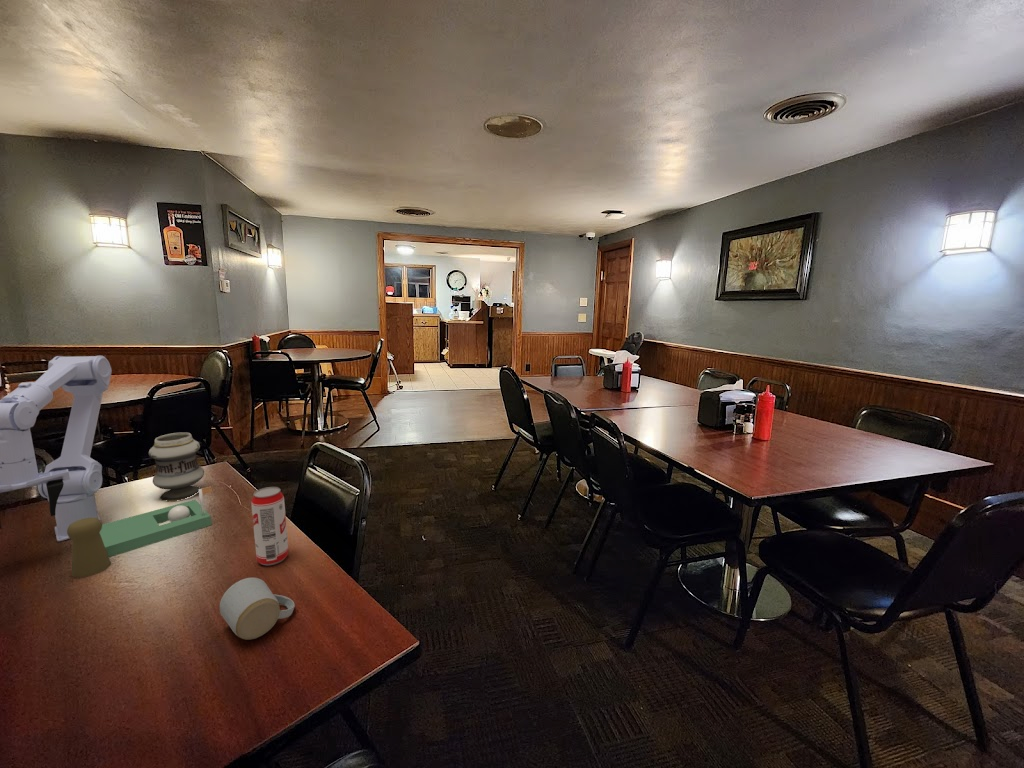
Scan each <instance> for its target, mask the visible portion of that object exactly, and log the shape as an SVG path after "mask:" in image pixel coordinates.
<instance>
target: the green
mask: <svg viewBox="0 0 1024 768" xmlns="http://www.w3.org/2000/svg"><path fill="white" fill-rule="evenodd" d="M180 505H182V506H186V507H187V508H188V509H189V511H190V515H191V516H190V515H189V517H187V518H184V519H181V520H177V521H174V522H170V521H169V519H168V513H169V511H170V510H171V509H172V508H174V507H175V506H180ZM204 511H205V515H203V516H202V515H201V506H200V502H198V500H196V499H192V500H189V501H185V502H181V503H177V504H174V505H173V504H172V505H169V506H166V507H163V508H159V509H155V510H151V511H147V512H145V513H139V514H136V515H133V516H128V517H125V518H122V519H118V520H113V521H110V522H107V523H102V529H101V531H100V535H101V538H102V540H103V543H104V546H105V548H106V551H107V554H108V557H109V558H111V557H114V556H117V555H121V554H124V553H126V552H130V551H133V550H136V549H139V548H142V547H146V546H149V545H153V544H155V543H159V542H161V541H165V540H168V539H171V538H173V537H177V536H178V537H179V536H181V535H185V534H188V533H190V532H194V531H197V530H201V529H203V528H206V527H210V526H212V525H213V524H212V517H211V515H210V514H209V512H208V511H207V510H206V509H205V508H204ZM168 521H169V522H168ZM165 522H166V523H165ZM167 522H168V523H167ZM162 523H163V524H162Z"/></svg>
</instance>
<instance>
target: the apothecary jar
mask: <svg viewBox="0 0 1024 768" xmlns="http://www.w3.org/2000/svg"><path fill="white" fill-rule="evenodd" d="M200 449H201V445H200V442H199V441H197V440H196V439H194V438H193V436H192V434H191V433H190V432H187V431H186V432H180V431H179V432H173V433H167V434H164V435H162V434H161V435H160V436H158V437H155V439H154V443H153V445H152V447H150V449H149V451H148V456H149V457H150V458H151V459H153V460H154V463H155V468H156V473H155V474H154V476H153V478H152V484H153V485H154V486H155V487H156V488H158V489H161V490H166V491H165V492H163V493H162V494H161V495H160V496H159V499H160V501H166V500H167V501H166V502H169V501H171V502H178V501H177V500H180V501H182V500H181V499H185V498H187V497H190V496H192V495H194V494H195V493H197V492H198V491H199V490H198V489H200V488H201V487H200V486H198V487H197V485H195V484H196V483H198V482H199V481H201V480H202V478H203V477H204V475H205V469H204V468H203V467H202V466H201V465H199V463H198V457H197V452H198V451H199V450H200ZM199 487H200V488H199ZM185 500H186V499H185Z"/></svg>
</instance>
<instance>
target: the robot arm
mask: <svg viewBox="0 0 1024 768" xmlns="http://www.w3.org/2000/svg"><path fill="white" fill-rule="evenodd" d="M47 364H48V365H47V370H46V371H44V372H43V374H42V375H40V377H39V378H38V379H36V380H35V381H28V382H27V381H26V382H21V383H19V384H18V385H17V386H18V387H16V388H15V389H14V390H12V391H11V392H9V393H8V394H7V395H5V396H3V397H2V398H1V399H0V494H1V493H5V492H11V491H16V490H20V489H25V488H31V487H35V486H37V490H38V493H39V495H41V497H43V498H45V499H47V502H48V507H49V513H50V517H55V518H54V519H55V522H56V523H55V524H56V526H54V533H55V535H56V536H55V537H56V541H57V542H63V541H65V540H71V538H69V536H68V534H67V529H68V527H69V525H70V524H72V523H73V522H75V521H78V520H81V519H85V518H98V519H99V520H100V521H101V517H100V516H99V514H98V507H97V502H96V496H95V494H96V493H98V492H99V490H100V488H101V487H102V485H103V475H102V474H103V473H102V471H103V466H102V464H101V462H98V460H95V459H93V458H92V457H91V455H92V454H91V453H92V449H93V444H94V440H95V439H94V438H95V435H96V430H97V425H98V424H97V423H98V419H99V415H100V409H101V405H102V399H103V395H104V392H107V391H108V389H109V385H110V383H111V377H112V370H113V369H112V366H111V364H110V361H109V360H108V358H106V357H105V356H103V355H95V356H94V355H91V356H89V355H88V356H83V355H82V356H81V355H79V356H63V355H57V356H54V357H53V358H52V359H51V360H48V363H47ZM59 388H61V389H62V390H63V391H65V393H66V392H67V393H70V394H71V395H73V401H72V403H71V409H70V414H69V418H68V423H67V426H66V431H65V435H64V439H63V444H62V449H61V453H60V456H59V457H58V458H56V459H54V460H53V461H51V462H50V463H48V464H47V465H45V468H44V472H39V470H38V465H37V460H36V455H35V454H36V453H35V448H34V444H33V438H32V432H31V428H33V427H34V426H35V424H36V421H37V417H38V416H39V414H40V411H41V410H43V408H45V407H46V406H47V405H48V404H50V403H51V401H52V400H53V398H54V394H53V393H54V392H55V391H57V390H58V389H59ZM101 522H102V521H101ZM1 529H2V523H1V521H0V530H1Z"/></svg>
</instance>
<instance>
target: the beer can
mask: <svg viewBox="0 0 1024 768" xmlns="http://www.w3.org/2000/svg"><path fill="white" fill-rule="evenodd" d="M281 490H282V489H281V488H280V487H278V486H269V487H267V486H266V487H263V488H259V489H257V490H255V491H254V493H252V494H253V497H252V499H251V504H250V505H251V514H252V525H253V535H254V544H255V555H256V556H255V557H256V562H257V563H258V564H260V565H262V566H275V565H277V564H279V563H281V562H283V561H284V560H285V559H286V558H287V556H288V555H289V552H290V551H289V540H288V539H289V538H288V528H287V518H286V516H287V515H286V514H287V513H286V505H285V496H284V493H282V492H281Z"/></svg>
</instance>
